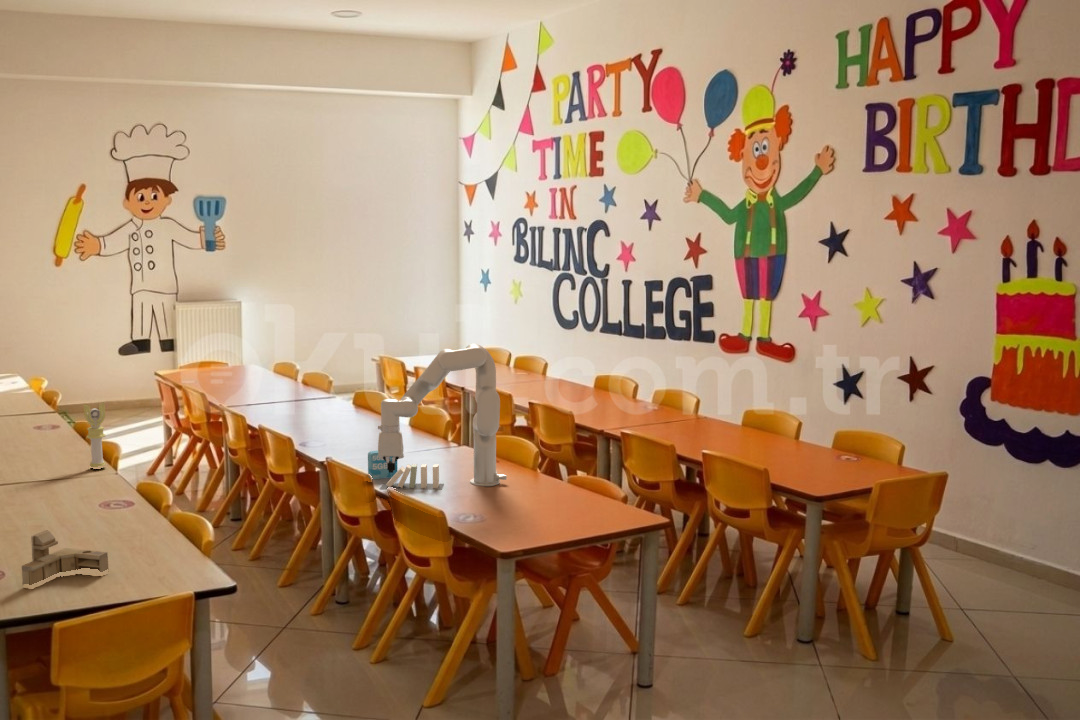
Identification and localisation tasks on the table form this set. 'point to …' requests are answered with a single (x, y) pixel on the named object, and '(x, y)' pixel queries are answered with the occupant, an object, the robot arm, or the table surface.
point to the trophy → (95, 432)
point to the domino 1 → (396, 476)
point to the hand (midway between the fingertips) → (391, 471)
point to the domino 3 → (413, 476)
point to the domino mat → (417, 487)
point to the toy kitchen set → (58, 559)
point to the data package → (379, 466)
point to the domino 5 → (435, 475)
